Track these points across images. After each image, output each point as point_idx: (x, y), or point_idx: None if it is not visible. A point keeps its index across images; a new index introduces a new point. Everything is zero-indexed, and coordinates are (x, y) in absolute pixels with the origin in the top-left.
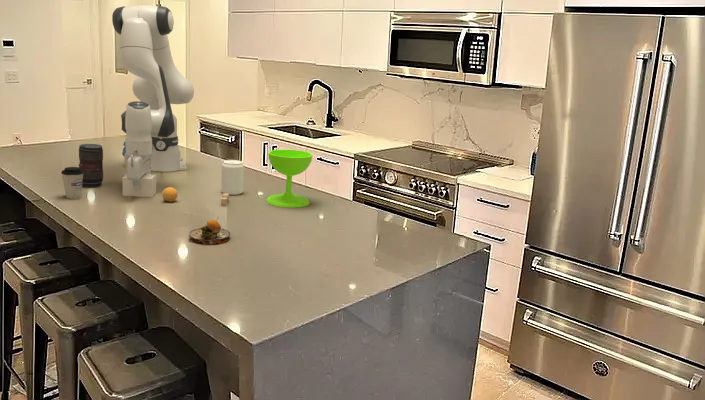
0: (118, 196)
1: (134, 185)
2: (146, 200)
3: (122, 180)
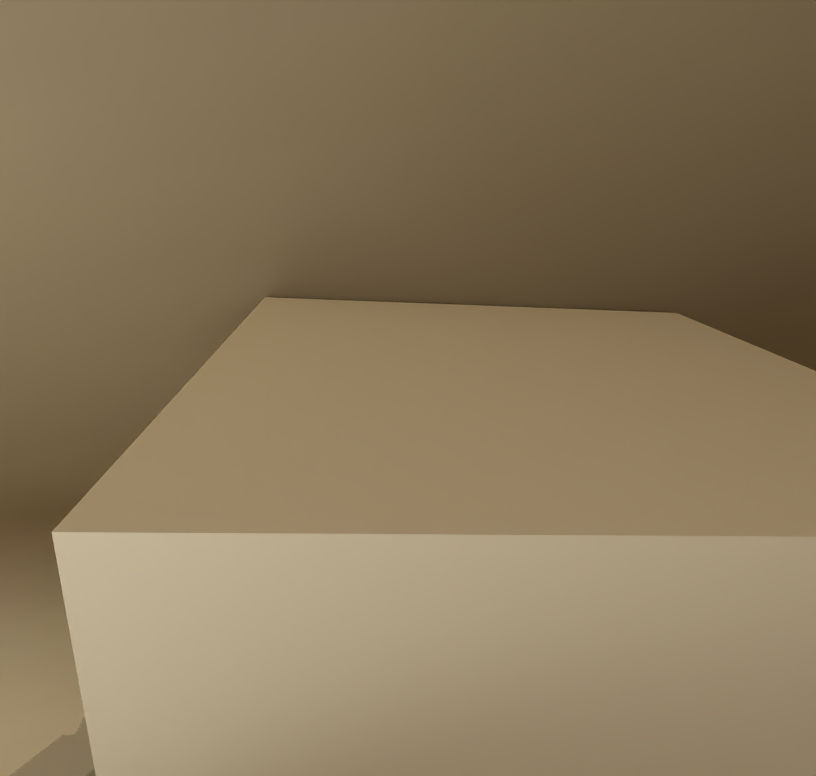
0: (192, 217)
1: (80, 747)
2: (52, 722)
3: (137, 444)
